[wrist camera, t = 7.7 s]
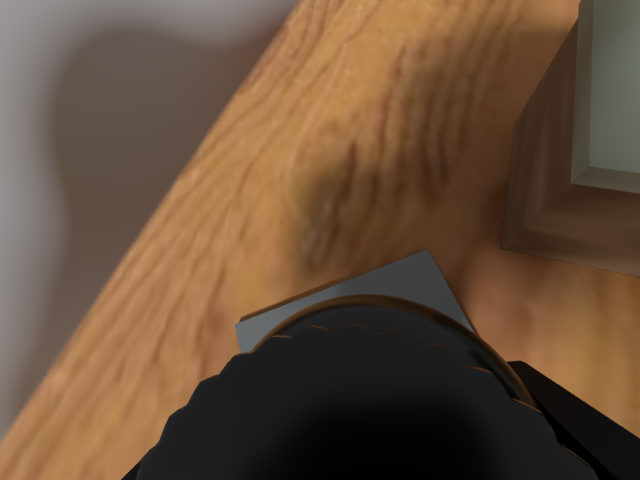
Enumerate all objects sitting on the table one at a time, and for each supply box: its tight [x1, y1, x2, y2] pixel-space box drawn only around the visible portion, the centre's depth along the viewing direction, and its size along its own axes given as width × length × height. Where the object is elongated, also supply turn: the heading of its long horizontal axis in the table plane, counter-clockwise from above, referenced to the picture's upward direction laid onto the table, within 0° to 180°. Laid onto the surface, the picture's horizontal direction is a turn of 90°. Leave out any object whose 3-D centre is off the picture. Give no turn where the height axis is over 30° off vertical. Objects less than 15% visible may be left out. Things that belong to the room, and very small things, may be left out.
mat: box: [235, 249, 473, 353], centre depth 15 cm, size 12×12×1 cm
